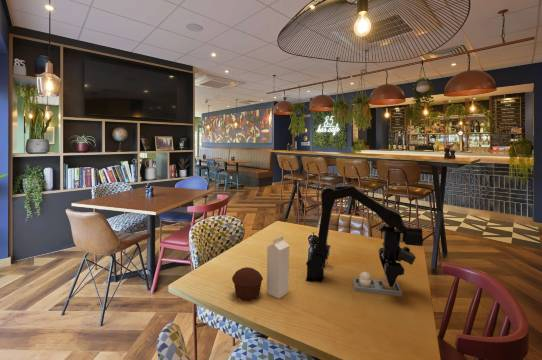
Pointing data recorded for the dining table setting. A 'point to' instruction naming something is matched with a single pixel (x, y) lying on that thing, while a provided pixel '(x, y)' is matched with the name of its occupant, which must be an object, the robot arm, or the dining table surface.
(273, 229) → the dining table surface
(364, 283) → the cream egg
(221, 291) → the dining table surface
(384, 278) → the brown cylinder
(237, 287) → the muffin
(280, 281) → the milk
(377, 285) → the grey flat rectangular tray
